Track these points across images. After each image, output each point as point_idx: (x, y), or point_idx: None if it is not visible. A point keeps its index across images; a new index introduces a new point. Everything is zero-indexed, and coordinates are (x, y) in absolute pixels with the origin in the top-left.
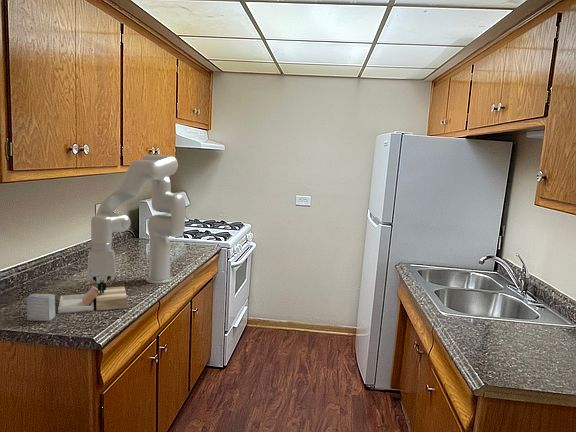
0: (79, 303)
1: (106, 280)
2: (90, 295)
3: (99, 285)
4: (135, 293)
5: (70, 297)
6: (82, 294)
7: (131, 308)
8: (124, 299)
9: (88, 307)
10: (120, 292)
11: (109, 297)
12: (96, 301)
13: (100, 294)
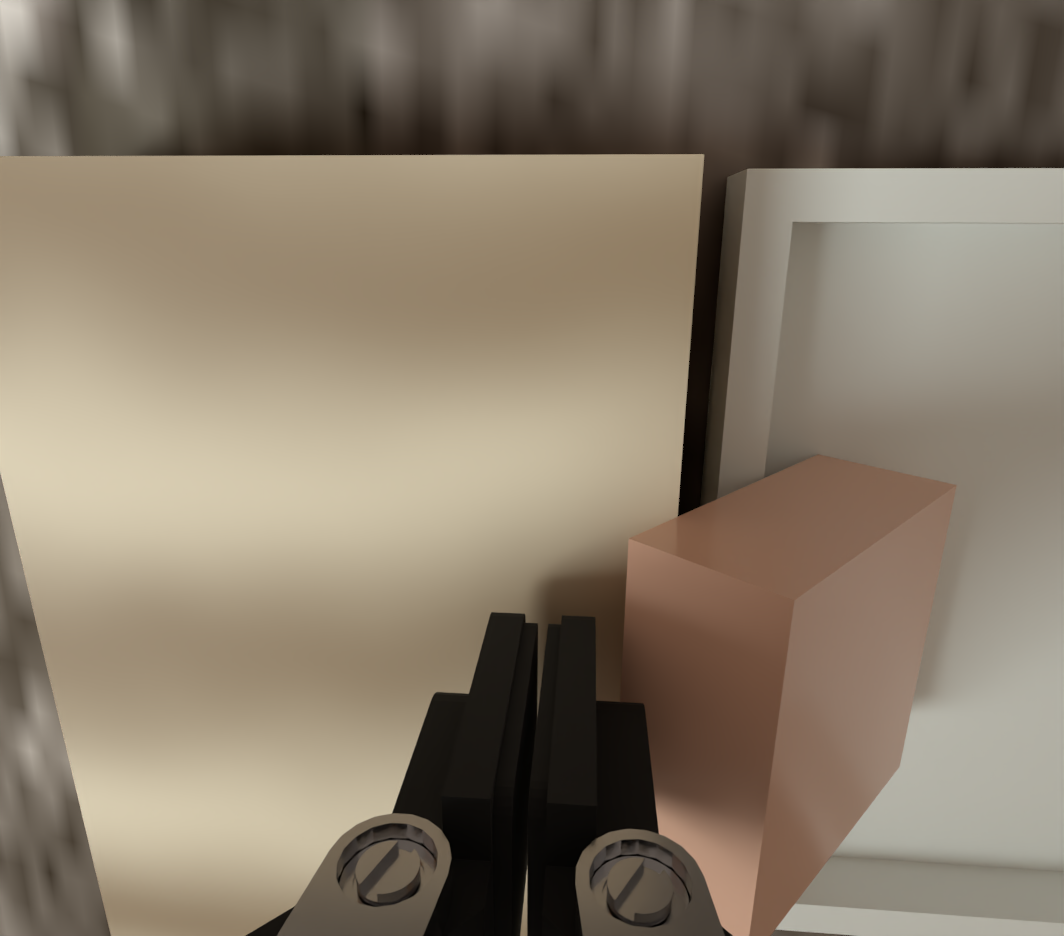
0: (937, 624)
1: (316, 898)
2: (825, 536)
3: (599, 795)
4: (67, 871)
5: (1058, 896)
6: (865, 932)
7: (22, 129)
8: (15, 159)
9: (853, 168)
10: (149, 645)
11: (368, 334)
12: (697, 160)
13: None
